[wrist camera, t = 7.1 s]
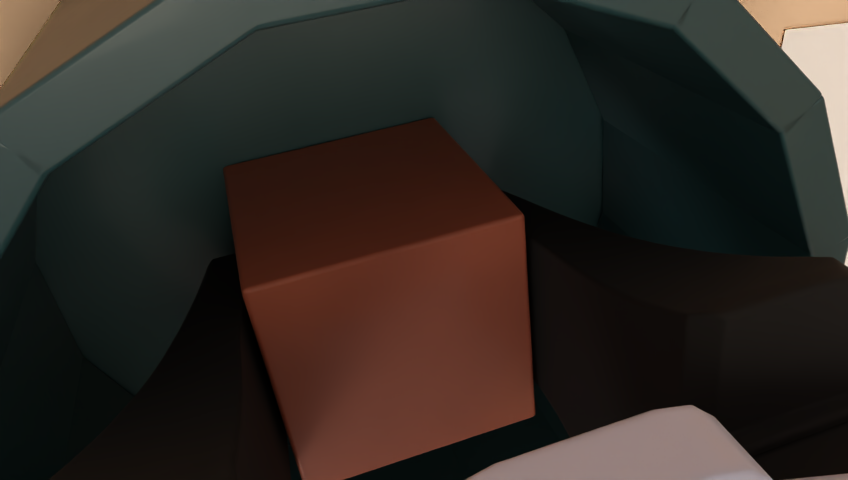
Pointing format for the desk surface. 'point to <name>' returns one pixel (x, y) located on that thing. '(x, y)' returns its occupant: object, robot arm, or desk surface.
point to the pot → (353, 115)
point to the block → (383, 295)
